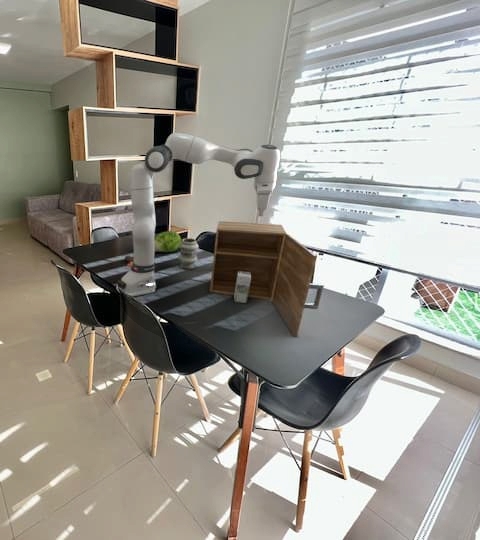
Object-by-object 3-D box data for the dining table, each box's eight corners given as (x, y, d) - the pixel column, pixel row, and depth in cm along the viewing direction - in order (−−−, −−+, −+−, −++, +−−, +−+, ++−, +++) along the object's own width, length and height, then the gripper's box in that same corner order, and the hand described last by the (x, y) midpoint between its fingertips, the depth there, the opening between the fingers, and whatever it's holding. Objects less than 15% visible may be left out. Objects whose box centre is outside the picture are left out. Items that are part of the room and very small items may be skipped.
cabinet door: (287, 301, 140) (302, 234, 127) (313, 337, 113) (335, 256, 100) (272, 300, 141) (285, 234, 128) (294, 336, 114) (314, 255, 101)
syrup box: (246, 298, 144) (250, 271, 139) (246, 303, 139) (251, 276, 134) (234, 296, 146) (237, 270, 140) (234, 302, 141) (238, 275, 135)
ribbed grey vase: (176, 268, 183) (177, 241, 176) (179, 262, 193) (181, 236, 186) (195, 271, 178) (197, 243, 172) (198, 264, 189) (200, 238, 182)
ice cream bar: (138, 261, 187) (130, 254, 200) (130, 262, 186) (123, 255, 199) (137, 266, 188) (130, 258, 202) (130, 267, 187) (123, 259, 200)
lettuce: (149, 253, 220) (146, 236, 211) (170, 241, 226) (168, 224, 217) (162, 262, 209) (159, 245, 199) (184, 249, 215) (182, 232, 205)
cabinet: (272, 300, 142) (286, 233, 129) (209, 291, 152) (216, 228, 139) (269, 285, 157) (281, 224, 145) (212, 278, 167) (219, 221, 155)
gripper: (257, 175, 139) (254, 202, 147) (256, 191, 124) (252, 220, 132) (272, 175, 136) (268, 202, 144) (272, 191, 121) (268, 221, 129)
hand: (260, 211), depth 138 cm, fingers open, 8 cm apart
